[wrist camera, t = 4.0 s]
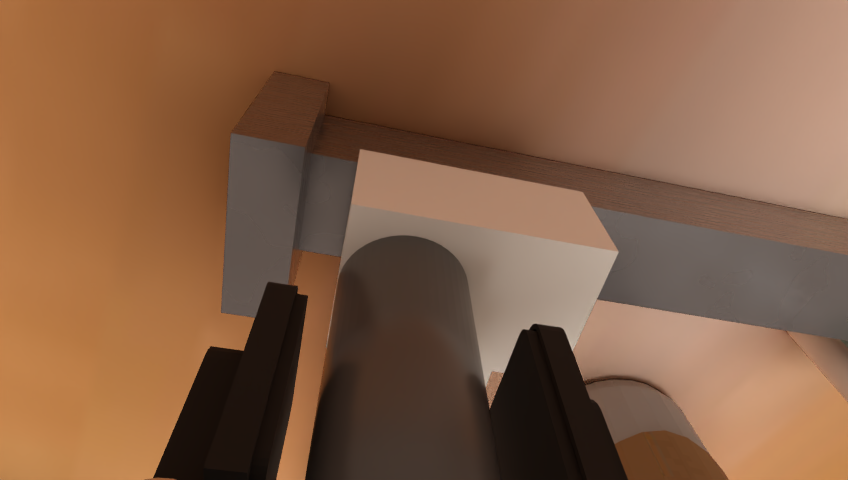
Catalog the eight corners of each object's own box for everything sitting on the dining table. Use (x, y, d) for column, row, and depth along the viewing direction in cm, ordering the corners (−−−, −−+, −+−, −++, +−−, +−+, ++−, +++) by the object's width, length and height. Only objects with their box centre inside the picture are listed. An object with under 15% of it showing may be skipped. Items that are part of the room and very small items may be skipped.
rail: (274, 71, 17) (230, 132, 12) (1055, 233, 21) (1226, 323, 16) (261, 219, 19) (220, 312, 15) (960, 339, 23) (1088, 440, 19)
